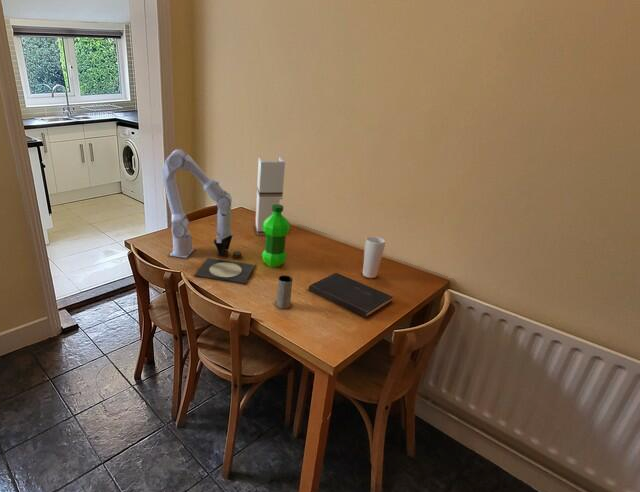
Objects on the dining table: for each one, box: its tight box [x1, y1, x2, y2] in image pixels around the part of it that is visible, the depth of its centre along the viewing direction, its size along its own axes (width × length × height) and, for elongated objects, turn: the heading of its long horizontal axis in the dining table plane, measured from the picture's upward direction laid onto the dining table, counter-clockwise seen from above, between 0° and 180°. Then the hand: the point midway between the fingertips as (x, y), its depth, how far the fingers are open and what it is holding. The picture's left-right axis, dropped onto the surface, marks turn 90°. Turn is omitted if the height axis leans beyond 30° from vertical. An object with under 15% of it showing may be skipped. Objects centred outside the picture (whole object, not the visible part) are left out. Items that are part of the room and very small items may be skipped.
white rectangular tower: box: [254, 156, 286, 236], centre depth 194 cm, size 11×11×35 cm
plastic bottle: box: [261, 204, 291, 268], centre depth 163 cm, size 10×10×25 cm
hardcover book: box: [308, 272, 393, 319], centre depth 144 cm, size 16×23×2 cm
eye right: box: [232, 250, 243, 260], centre depth 174 cm, size 4×4×2 cm
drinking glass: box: [362, 236, 386, 279], centre depth 156 cm, size 7×7×15 cm
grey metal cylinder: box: [276, 275, 293, 309], centre depth 137 cm, size 4×4×10 cm
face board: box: [194, 258, 256, 285], centre depth 163 cm, size 16×20×1 cm
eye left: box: [220, 249, 229, 258], centre depth 176 cm, size 4×4×2 cm
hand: (223, 252), depth 176 cm, fingers open, 6 cm apart
